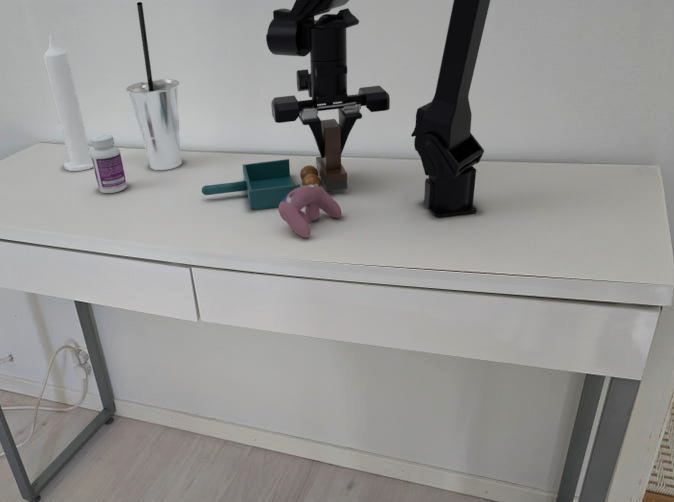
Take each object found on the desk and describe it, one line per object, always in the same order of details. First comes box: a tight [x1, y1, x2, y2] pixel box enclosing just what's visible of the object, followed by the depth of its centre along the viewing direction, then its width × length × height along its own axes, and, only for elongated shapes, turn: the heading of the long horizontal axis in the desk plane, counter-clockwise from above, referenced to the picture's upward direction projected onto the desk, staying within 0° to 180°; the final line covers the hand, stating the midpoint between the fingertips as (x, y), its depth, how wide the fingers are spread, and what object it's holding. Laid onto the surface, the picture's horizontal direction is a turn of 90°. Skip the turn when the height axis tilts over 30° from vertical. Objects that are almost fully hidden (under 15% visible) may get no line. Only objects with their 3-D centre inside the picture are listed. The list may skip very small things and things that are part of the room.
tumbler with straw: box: [125, 1, 183, 171], centre depth 126 cm, size 11×11×30 cm
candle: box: [42, 34, 94, 172], centre depth 132 cm, size 7×7×25 cm
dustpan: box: [201, 158, 301, 211], centre depth 115 cm, size 16×14×3 cm
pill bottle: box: [90, 133, 128, 194], centre depth 123 cm, size 5×5×10 cm
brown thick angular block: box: [315, 118, 348, 192], centre depth 114 cm, size 4×10×10 cm, turn 5°
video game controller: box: [278, 184, 342, 239], centre depth 102 cm, size 10×5×7 cm, turn 141°
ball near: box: [301, 174, 322, 187], centre depth 114 cm, size 3×3×3 cm
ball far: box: [299, 164, 319, 182], centre depth 118 cm, size 3×3×3 cm
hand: (330, 156), depth 114 cm, fingers closed on brown thick angular block, 2 cm apart
